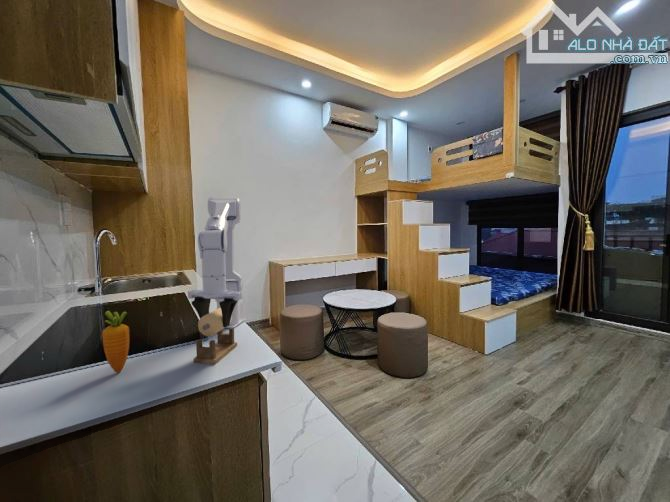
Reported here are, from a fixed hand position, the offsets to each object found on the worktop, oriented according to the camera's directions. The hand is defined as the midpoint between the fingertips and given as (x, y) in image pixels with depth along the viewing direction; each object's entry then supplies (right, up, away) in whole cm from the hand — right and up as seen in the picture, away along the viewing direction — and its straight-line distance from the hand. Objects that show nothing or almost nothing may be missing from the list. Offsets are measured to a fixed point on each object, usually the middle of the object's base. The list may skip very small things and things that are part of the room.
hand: (215, 325), depth 76 cm
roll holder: (0, -8, +1) cm, 8 cm away
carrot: (-19, -9, -10) cm, 23 cm away
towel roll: (0, +1, 0) cm, 1 cm away
